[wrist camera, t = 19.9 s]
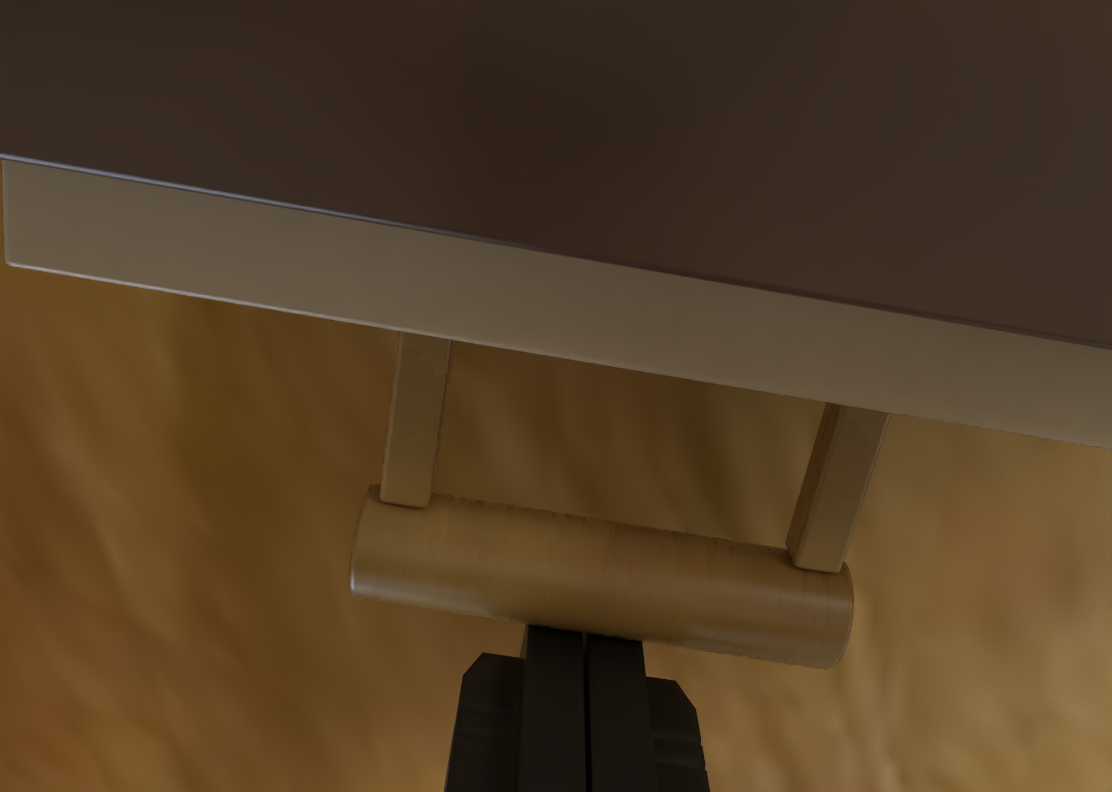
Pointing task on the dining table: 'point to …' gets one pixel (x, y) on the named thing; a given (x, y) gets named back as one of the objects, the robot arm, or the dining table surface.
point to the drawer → (589, 336)
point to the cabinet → (625, 133)
